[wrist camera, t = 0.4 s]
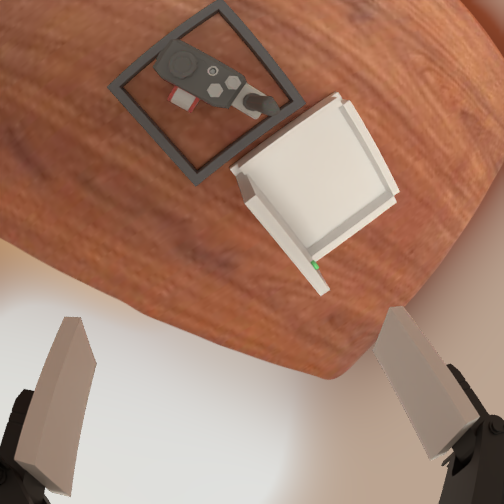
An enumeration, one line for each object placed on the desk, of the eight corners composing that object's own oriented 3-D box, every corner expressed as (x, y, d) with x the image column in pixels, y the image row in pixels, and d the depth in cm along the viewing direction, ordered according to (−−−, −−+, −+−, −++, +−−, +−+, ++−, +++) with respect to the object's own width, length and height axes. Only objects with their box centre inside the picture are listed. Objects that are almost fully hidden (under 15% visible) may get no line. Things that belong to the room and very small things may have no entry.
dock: (229, 167, 35) (237, 194, 27) (334, 91, 32) (376, 95, 24) (301, 255, 42) (325, 301, 33) (390, 189, 39) (434, 219, 30)
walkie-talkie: (252, 93, 32) (306, 97, 14) (229, 126, 33) (256, 169, 16) (182, 54, 28) (152, 8, 11) (160, 88, 30) (103, 85, 13)
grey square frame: (110, 87, 29) (106, 87, 28) (220, 1, 26) (220, -3, 25) (196, 182, 36) (195, 186, 34) (302, 103, 33) (306, 103, 31)
